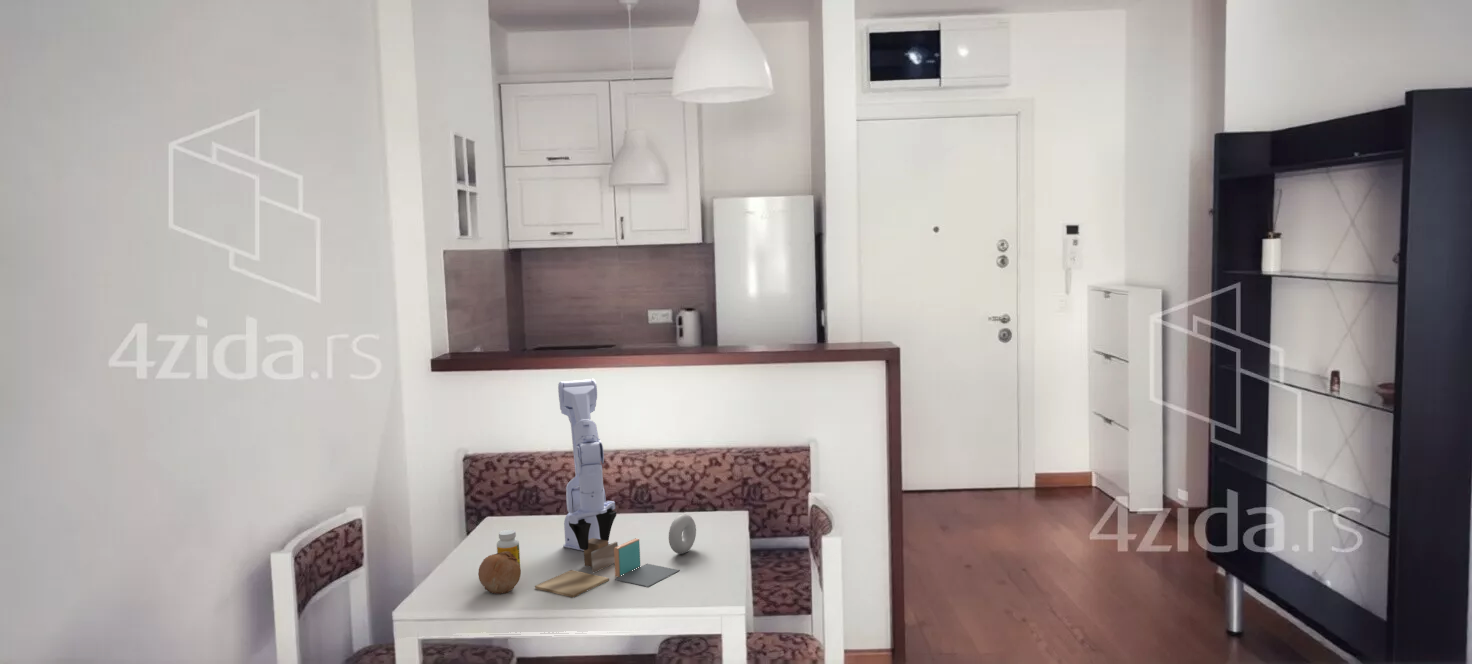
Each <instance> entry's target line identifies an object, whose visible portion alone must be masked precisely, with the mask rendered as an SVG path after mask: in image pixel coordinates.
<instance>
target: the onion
mask: <svg viewBox="0 0 1472 664" xmlns="http://www.w3.org/2000/svg"><path fill="white" fill-rule="evenodd" d="M517 560H518V559H517V558H515V556H514V554H512V553H511V552H508V551H506V552H505V551H504V552H500V553H497V552H496V553H494V554H490V555H488V556H487V557H485V558H484V559H483V560H482V562H481V563H480V565H479V568H478V580H479V581H480V585H482V586H483V587H484V590H485V591H487V592H488V593H490V594H491V593H492V594H495V595H502V594H505V595H506V594H508V593H509V592H511V591H513V590H514V589H515V588H516V586H517V585H518V583H519V581H520V579H521V574H522V571H521V570H522V569H521V564H520V565H519V563H518V561H517ZM501 593H502V594H501Z"/></svg>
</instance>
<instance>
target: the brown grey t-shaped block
mask: <svg viewBox="0 0 1472 664" xmlns="http://www.w3.org/2000/svg"><path fill="white" fill-rule="evenodd" d="M608 542H609V541H606V540H601V539H596V538H592V539H589V540H588V549H587V550H584V551H583V558H584V566H586V567H589V566H590V568H591V572H592V573H593V572H594V573H596V571H597V572H599V571H601V570H603V569H605V568H607V567H609V565H610V566H612V565H613V563H614V564H615V560H614V548H615V547H617V546H619V542H618V541H613V542H611V543H609V544H608ZM611 564H612V565H611ZM602 568H603V569H602ZM600 569H601V570H600ZM598 570H599V571H598Z"/></svg>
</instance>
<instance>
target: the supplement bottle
mask: <svg viewBox="0 0 1472 664" xmlns="http://www.w3.org/2000/svg"><path fill="white" fill-rule="evenodd" d="M516 536H517V533H516V530H514V529H506V530H505V529H504V530H501V531H499V532H498V539H499V540H498V541H497V542H496V554H497V553H500V552H504V551H505V552H506V551H508V552H511V553H512V554H514V556H515V558H517V559H518V560H517V561H518V563H519V565H520V566H521V558H520V555H521V554H520V553H521V552H520V541H519V540H518V539H517V538H516Z"/></svg>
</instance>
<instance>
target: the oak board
mask: <svg viewBox="0 0 1472 664" xmlns="http://www.w3.org/2000/svg"><path fill="white" fill-rule="evenodd" d="M609 579H610V578H609V577H606V576H602V575H601V576H600V575H597V574H592V573H587V572H582V571H580V570H579V571H578V570H573V569H570V570H568V571H566V572H564V573H560V574H559V575H555V576H554V577H552V578H550V579H547V580H546V581H542V582H541V583H539V584H536V585H535V586H534V589H535V590H541V591H545V592H549V593H552V594H557V595H560V596H561V595H562V596H566V597H568V598H569V597H570V598H573V597H574V598H576V597H577V595H578V596H580V595H582V594H584V593H585V592H588V591H590V590H592V589H595V588H596V587H598V586H600V584H601V585H603V584H604V583H607V582H609V581H610V580H609ZM602 583H603V584H602ZM587 590H588V591H587ZM583 592H584V593H583ZM581 593H582V594H581ZM579 594H580V595H579ZM575 596H576V597H575Z"/></svg>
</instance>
